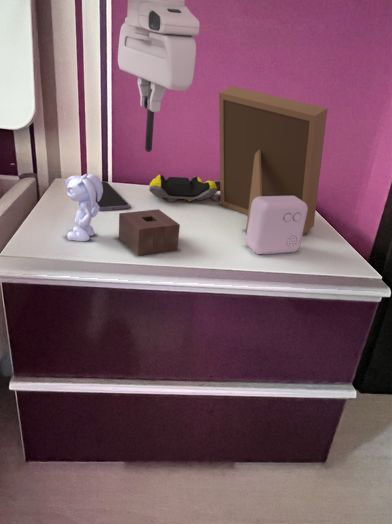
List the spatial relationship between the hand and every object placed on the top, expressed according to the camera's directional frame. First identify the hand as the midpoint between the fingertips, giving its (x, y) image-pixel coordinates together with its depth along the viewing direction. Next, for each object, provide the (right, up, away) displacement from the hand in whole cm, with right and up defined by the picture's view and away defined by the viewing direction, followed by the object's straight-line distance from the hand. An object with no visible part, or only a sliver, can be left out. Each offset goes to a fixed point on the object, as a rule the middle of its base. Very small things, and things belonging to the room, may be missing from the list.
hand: (150, 109), depth 96 cm
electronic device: (+23, -22, +13) cm, 34 cm away
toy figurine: (-13, -20, +9) cm, 26 cm away
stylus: (-1, -6, +4) cm, 7 cm away
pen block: (-1, -21, +9) cm, 23 cm away
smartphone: (-13, -8, +28) cm, 32 cm away
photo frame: (+20, -14, +25) cm, 35 cm away
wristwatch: (+15, -5, +35) cm, 39 cm away
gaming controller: (+4, -7, +33) cm, 34 cm away
